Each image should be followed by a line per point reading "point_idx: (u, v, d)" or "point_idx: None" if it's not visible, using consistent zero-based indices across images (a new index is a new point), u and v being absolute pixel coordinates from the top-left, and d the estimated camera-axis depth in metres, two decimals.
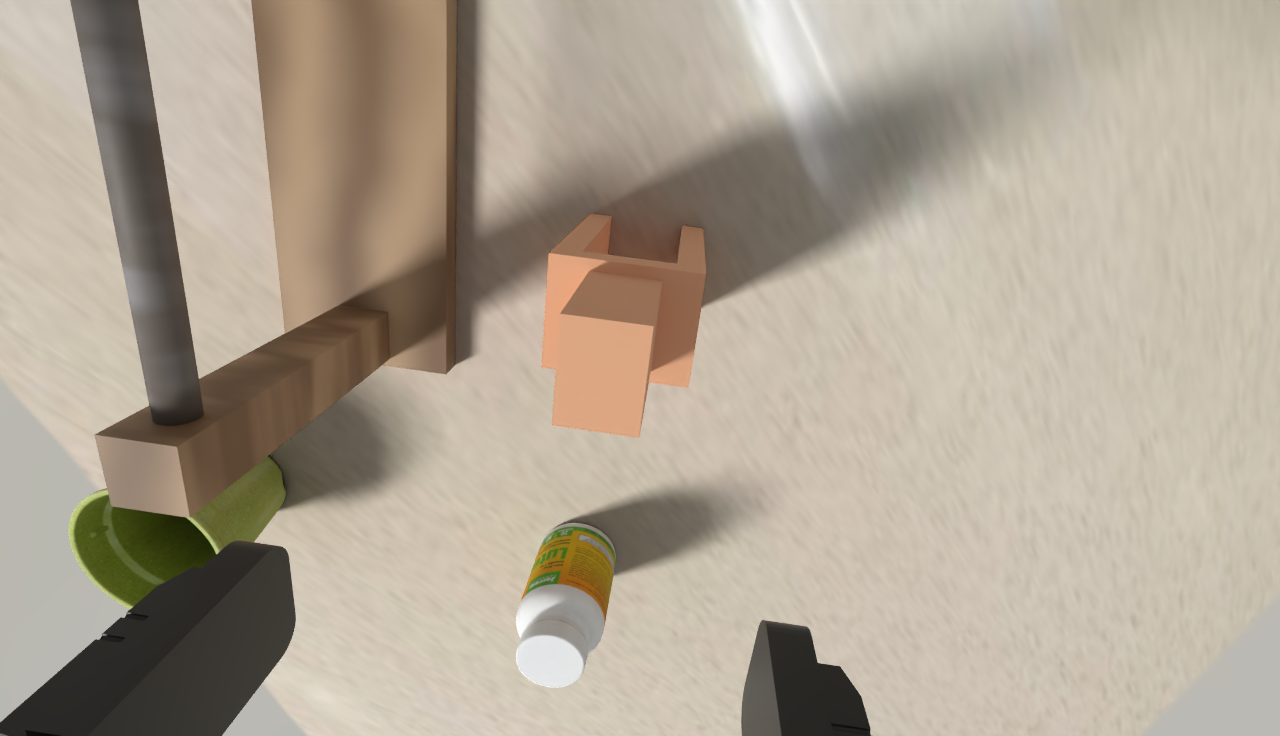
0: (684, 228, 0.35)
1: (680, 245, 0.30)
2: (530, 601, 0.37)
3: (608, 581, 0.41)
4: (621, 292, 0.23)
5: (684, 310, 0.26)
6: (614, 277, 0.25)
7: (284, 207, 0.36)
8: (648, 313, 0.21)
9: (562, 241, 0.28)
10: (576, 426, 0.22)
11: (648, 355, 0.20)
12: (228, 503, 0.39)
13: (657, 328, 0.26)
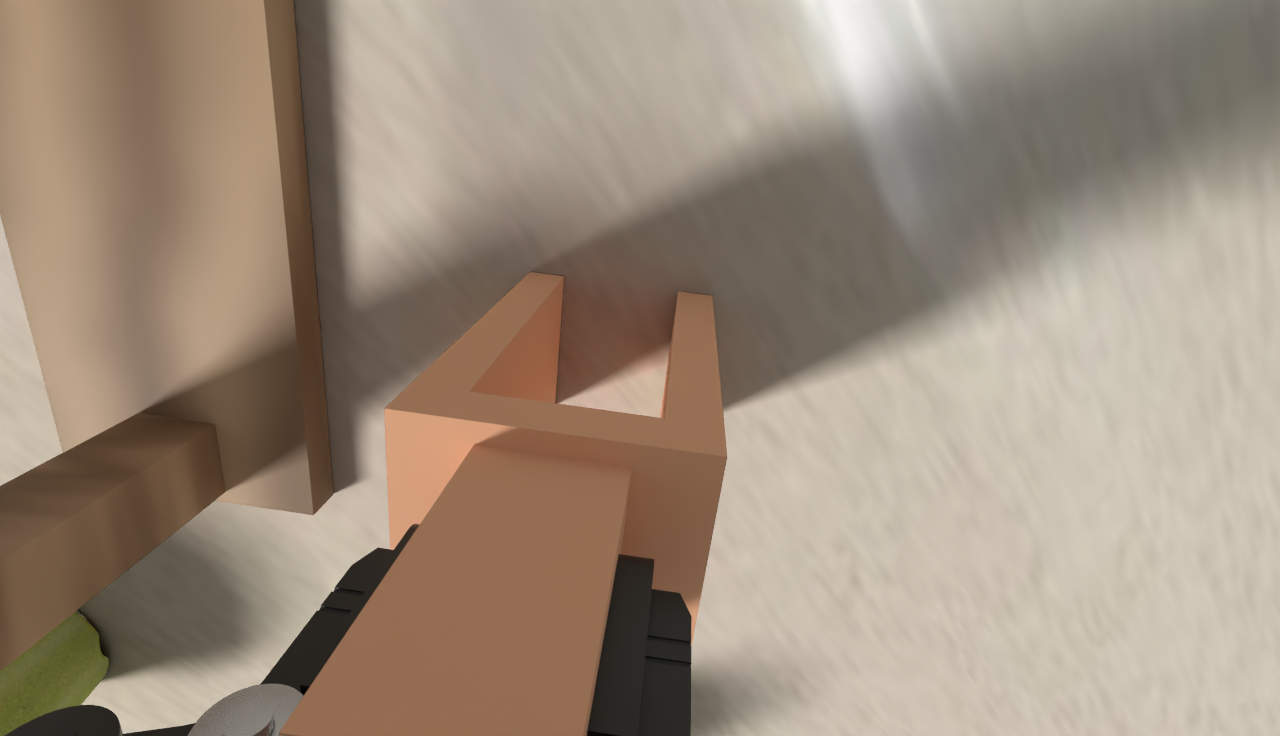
0: (681, 298, 0.21)
1: (673, 350, 0.16)
2: None
3: None
4: (521, 546, 0.09)
5: (679, 525, 0.12)
6: (523, 468, 0.11)
7: (32, 264, 0.22)
8: (574, 673, 0.07)
9: (439, 359, 0.14)
10: None
11: None
12: None
13: None
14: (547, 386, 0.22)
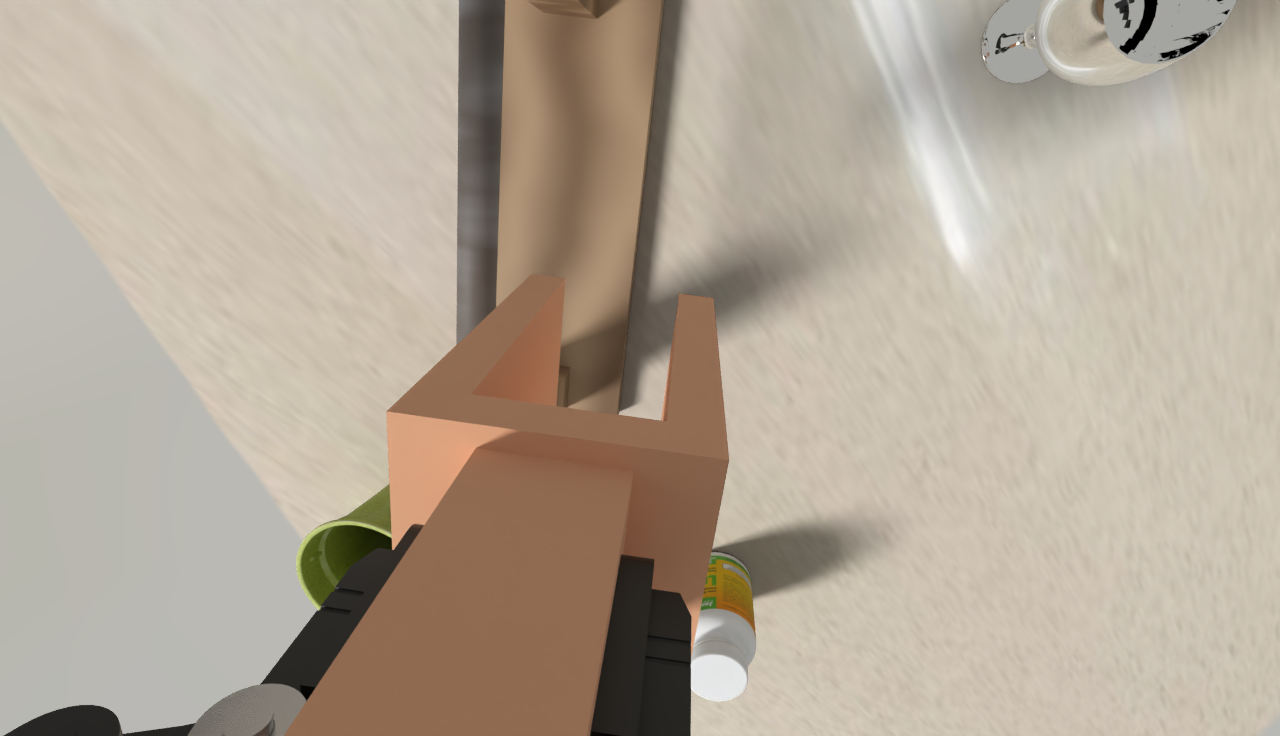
0: (682, 301, 0.21)
1: (674, 352, 0.16)
2: None
3: (752, 606, 0.46)
4: (524, 549, 0.09)
5: (681, 528, 0.12)
6: (525, 471, 0.11)
7: None
8: (576, 677, 0.07)
9: (441, 362, 0.14)
10: None
11: None
12: None
13: None
14: (548, 388, 0.22)
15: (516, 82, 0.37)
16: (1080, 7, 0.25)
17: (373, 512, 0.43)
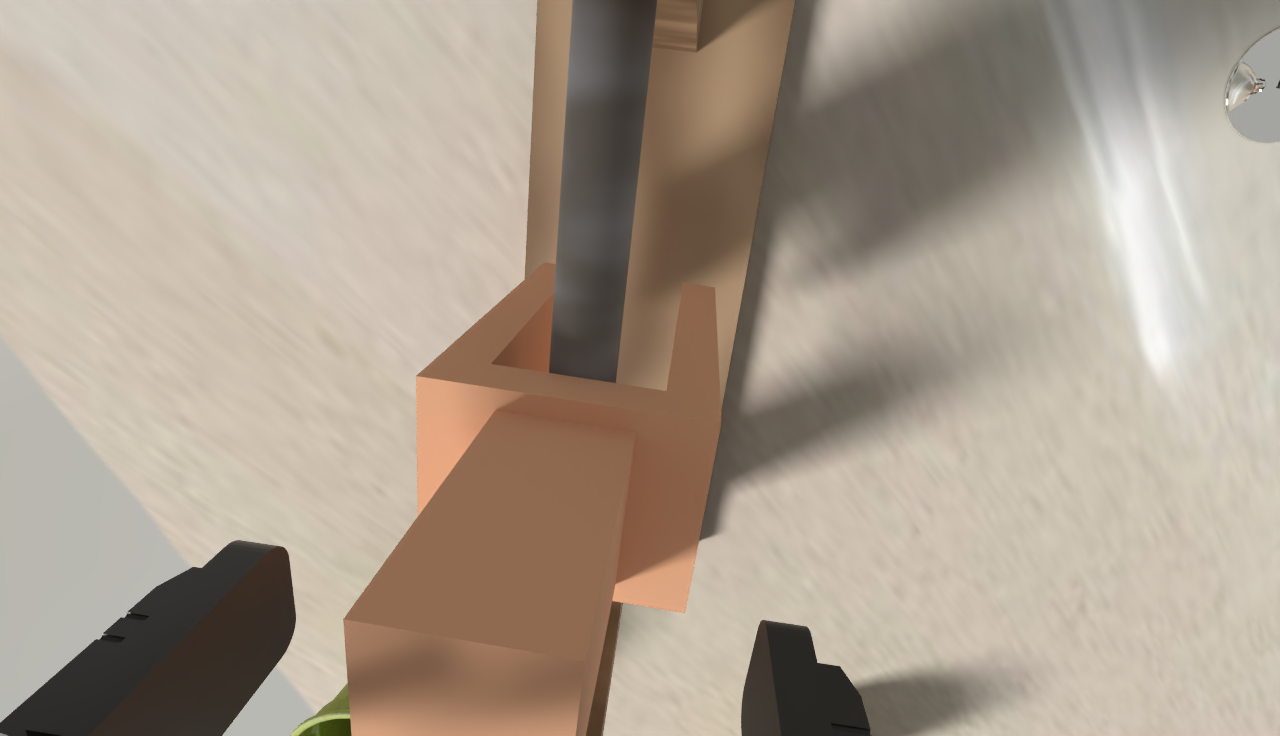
0: (686, 289, 0.22)
1: (676, 333, 0.18)
2: None
3: None
4: (538, 491, 0.11)
5: (678, 486, 0.14)
6: (539, 430, 0.13)
7: None
8: (583, 587, 0.09)
9: (463, 336, 0.16)
10: None
11: (574, 718, 0.08)
12: None
13: (627, 514, 0.14)
14: None
15: None
16: None
17: None
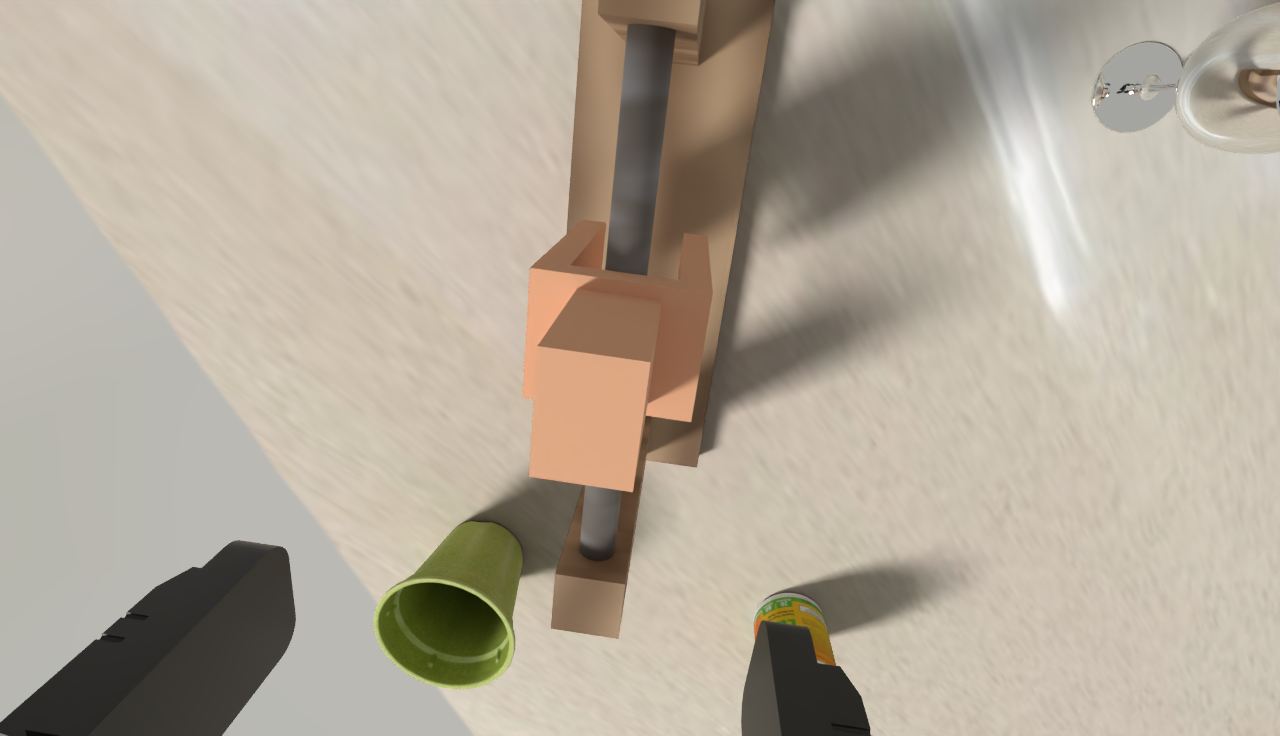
0: (686, 236, 0.31)
1: (682, 257, 0.27)
2: None
3: None
4: (612, 317, 0.20)
5: (687, 335, 0.22)
6: (606, 296, 0.22)
7: None
8: (645, 345, 0.18)
9: (547, 253, 0.24)
10: (558, 478, 0.18)
11: (644, 396, 0.17)
12: (503, 584, 0.43)
13: (655, 355, 0.23)
14: None
15: (609, 129, 0.36)
16: (1245, 82, 0.24)
17: (451, 565, 0.42)
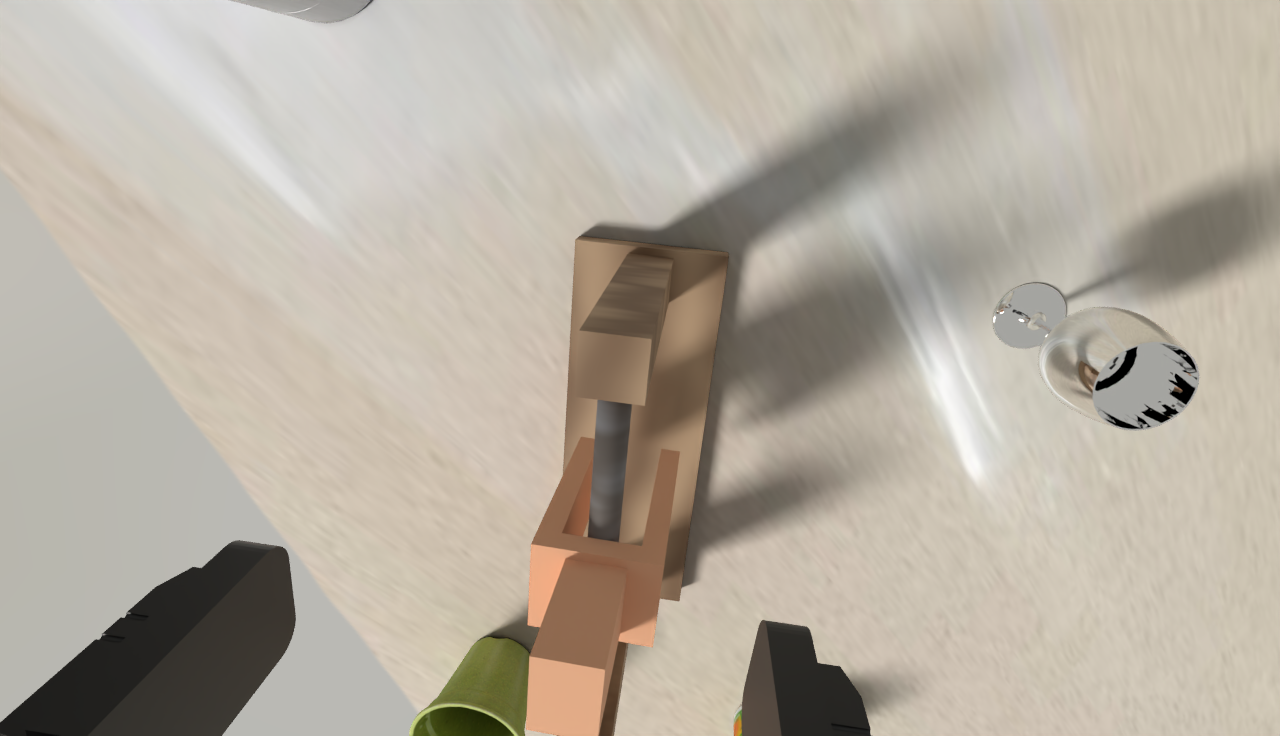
0: (662, 456, 0.39)
1: (651, 500, 0.35)
2: None
3: None
4: (587, 602, 0.28)
5: (646, 591, 0.30)
6: (585, 569, 0.30)
7: None
8: (604, 644, 0.26)
9: (546, 513, 0.33)
10: (545, 731, 0.26)
11: (602, 688, 0.25)
12: (516, 700, 0.51)
13: (624, 603, 0.31)
14: None
15: None
16: (1074, 380, 0.32)
17: (473, 687, 0.50)
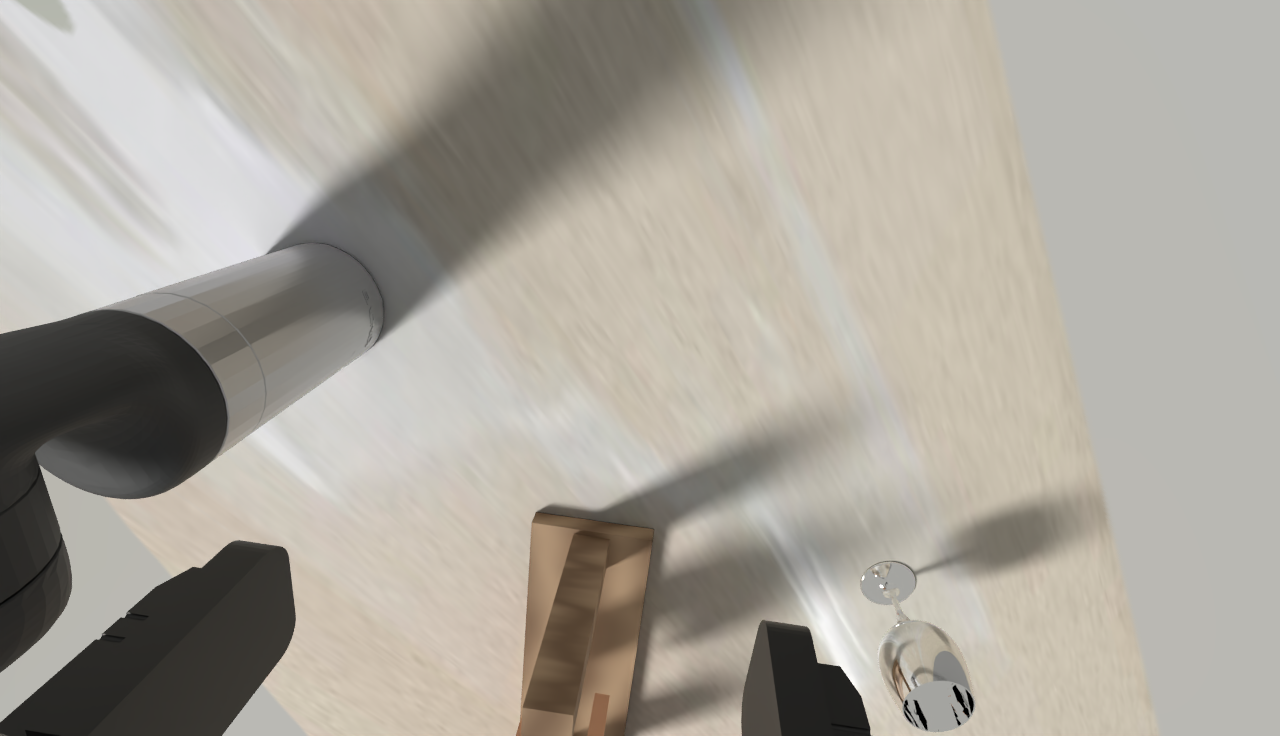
0: (595, 702, 0.50)
1: None
2: None
3: None
4: None
5: None
6: None
7: None
8: None
9: None
10: None
11: None
12: None
13: None
14: None
15: (551, 595, 0.55)
16: (893, 692, 0.43)
17: None
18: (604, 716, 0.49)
